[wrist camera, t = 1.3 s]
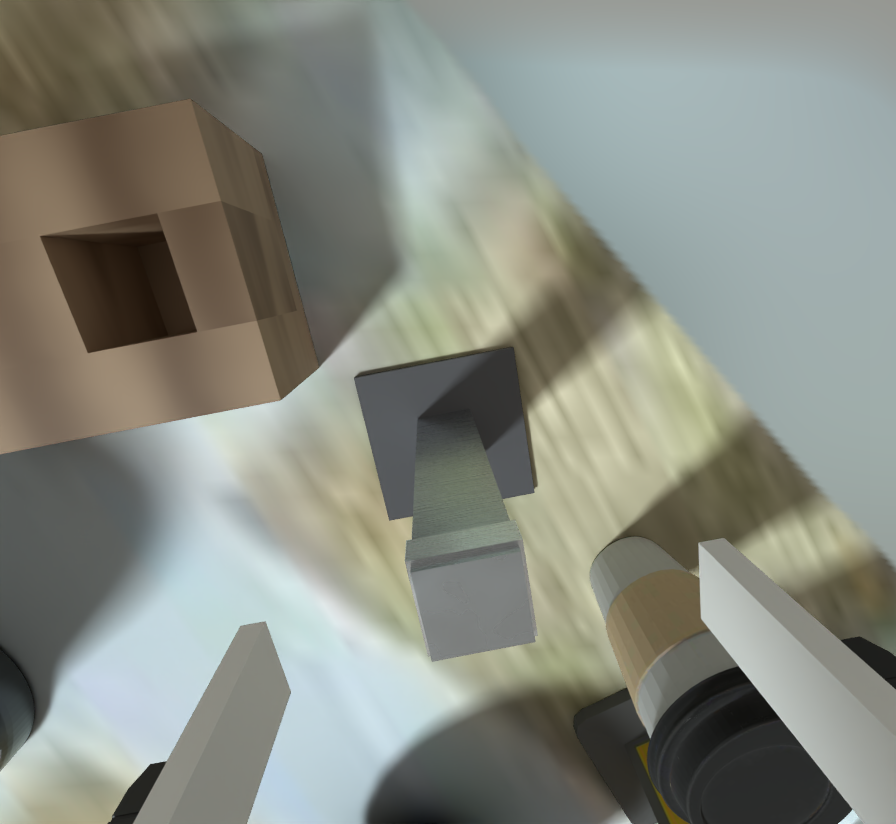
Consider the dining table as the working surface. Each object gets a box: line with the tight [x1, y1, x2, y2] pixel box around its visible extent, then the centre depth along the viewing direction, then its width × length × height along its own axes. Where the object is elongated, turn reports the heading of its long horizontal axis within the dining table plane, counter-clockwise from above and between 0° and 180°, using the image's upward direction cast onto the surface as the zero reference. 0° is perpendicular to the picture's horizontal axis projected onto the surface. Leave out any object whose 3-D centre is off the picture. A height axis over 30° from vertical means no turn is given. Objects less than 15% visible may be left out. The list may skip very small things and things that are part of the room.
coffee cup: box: [590, 536, 852, 824], centre depth 27 cm, size 9×9×15 cm
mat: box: [354, 347, 534, 521], centre depth 30 cm, size 10×10×1 cm
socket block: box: [0, 99, 319, 454], centre depth 23 cm, size 20×12×8 cm, turn 101°
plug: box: [405, 409, 538, 661], centre depth 22 cm, size 4×4×16 cm
